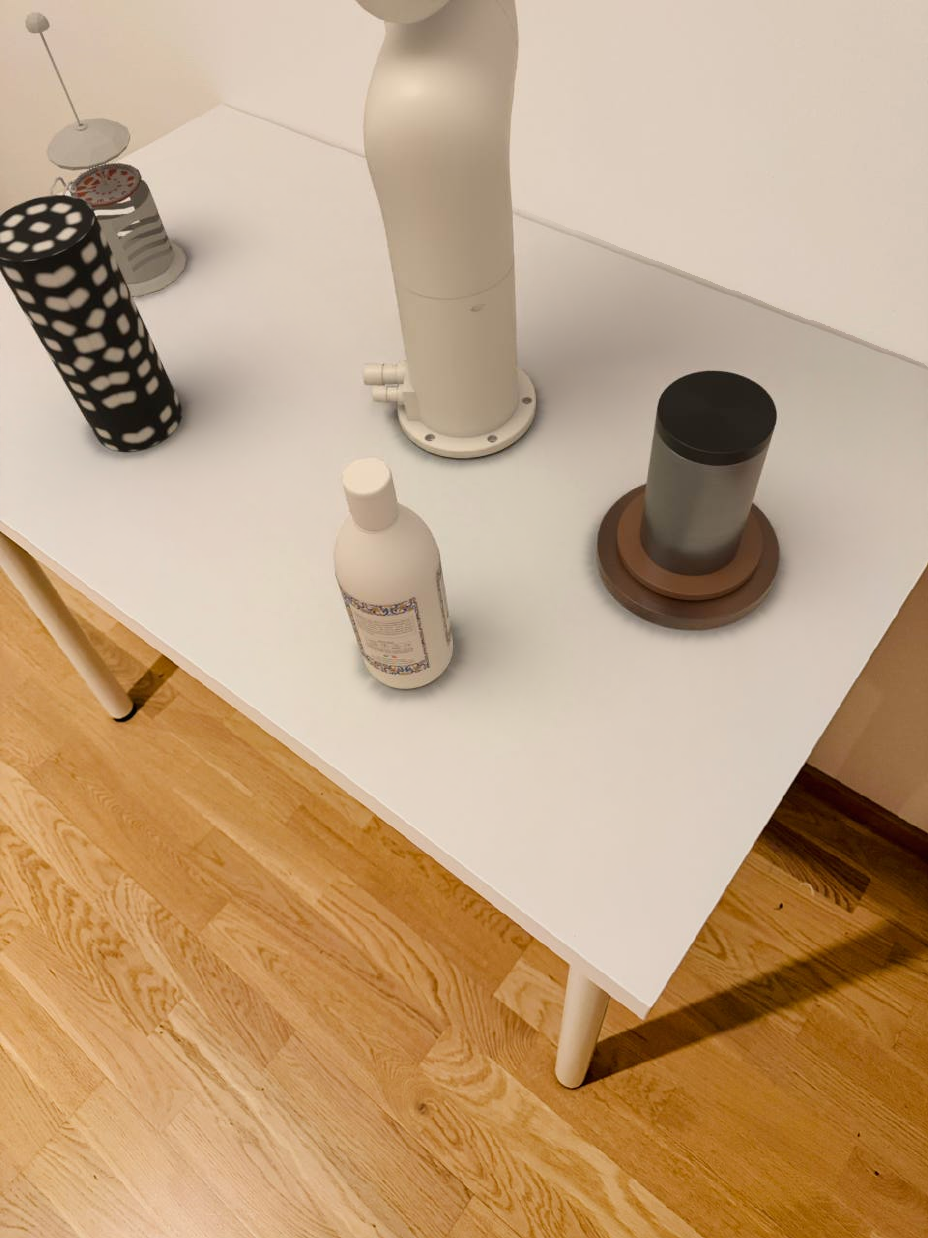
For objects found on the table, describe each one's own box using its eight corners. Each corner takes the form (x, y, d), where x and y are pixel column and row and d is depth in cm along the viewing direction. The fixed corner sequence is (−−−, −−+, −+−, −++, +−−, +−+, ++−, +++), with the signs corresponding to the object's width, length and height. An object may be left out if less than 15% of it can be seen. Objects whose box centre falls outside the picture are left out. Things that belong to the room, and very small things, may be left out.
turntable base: (594, 626, 69) (595, 615, 68) (597, 487, 77) (598, 475, 75) (783, 634, 67) (788, 623, 66) (768, 491, 75) (771, 479, 74)
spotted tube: (199, 401, 86) (116, 206, 69) (148, 461, 82) (47, 271, 65) (129, 379, 88) (32, 186, 72) (76, 438, 84) (-39, 248, 68)
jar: (616, 597, 68) (631, 471, 56) (617, 479, 74) (630, 344, 63) (766, 603, 67) (813, 475, 55) (754, 482, 73) (794, 345, 62)
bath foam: (405, 599, 72) (364, 414, 55) (472, 644, 69) (450, 464, 52) (345, 658, 69) (282, 483, 52) (412, 708, 66) (368, 541, 50)
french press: (204, 254, 99) (113, -2, 78) (131, 317, 94) (12, 61, 73) (140, 230, 102) (35, -22, 81) (65, 289, 97) (-66, 37, 76)
